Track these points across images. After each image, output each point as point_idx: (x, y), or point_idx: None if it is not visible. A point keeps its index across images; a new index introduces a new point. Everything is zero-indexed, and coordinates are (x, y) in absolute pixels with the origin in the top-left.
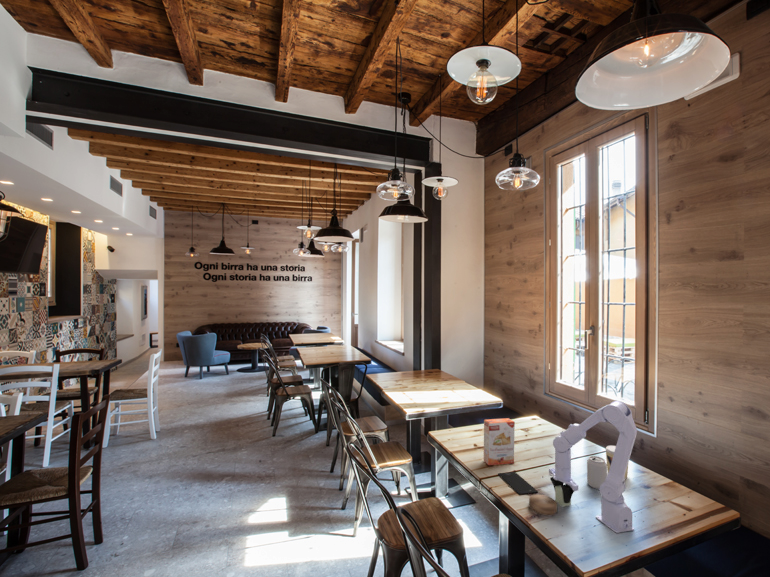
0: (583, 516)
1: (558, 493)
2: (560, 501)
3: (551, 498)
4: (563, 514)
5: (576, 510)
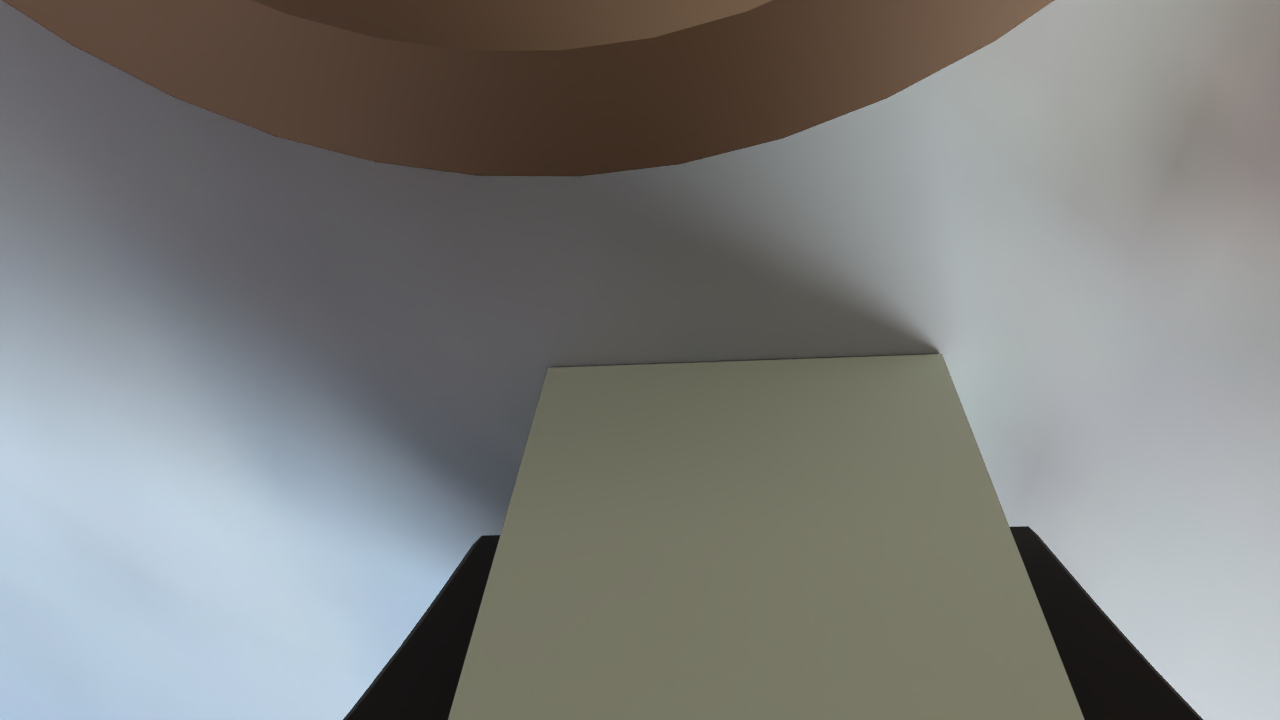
0: (30, 602)
1: (774, 682)
2: (627, 450)
3: (725, 109)
4: (12, 91)
5: (319, 614)
